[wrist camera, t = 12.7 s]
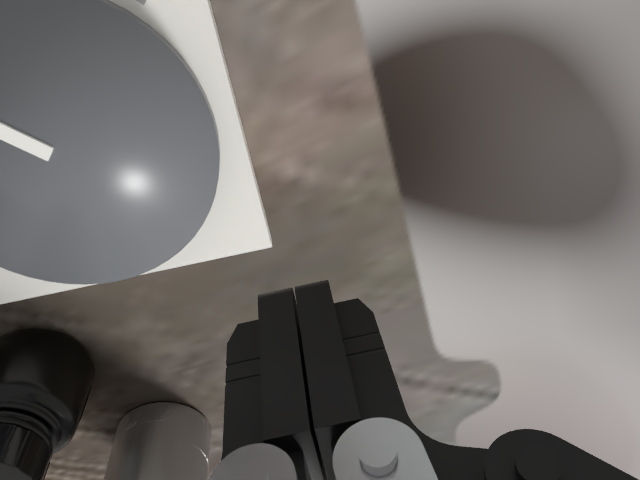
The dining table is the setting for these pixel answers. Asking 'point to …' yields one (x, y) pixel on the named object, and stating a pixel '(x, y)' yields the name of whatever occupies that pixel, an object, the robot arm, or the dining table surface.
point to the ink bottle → (39, 399)
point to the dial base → (235, 162)
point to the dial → (98, 143)
